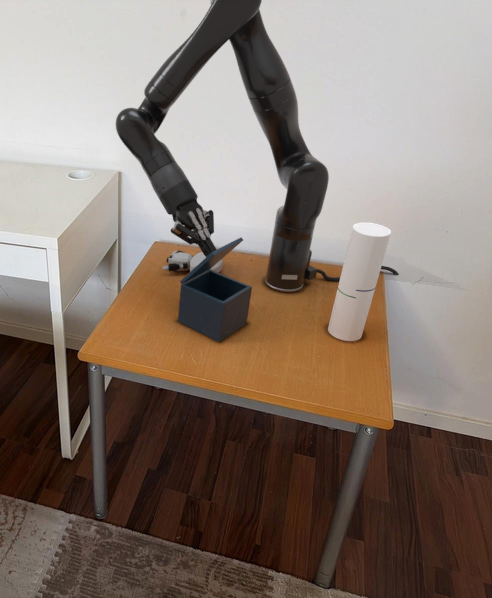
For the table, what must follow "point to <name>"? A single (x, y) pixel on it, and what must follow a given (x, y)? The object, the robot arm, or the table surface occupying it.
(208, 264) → the lid
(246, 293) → the caddy
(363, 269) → the cylindrical container
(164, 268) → the robot toy
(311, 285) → the table surface
